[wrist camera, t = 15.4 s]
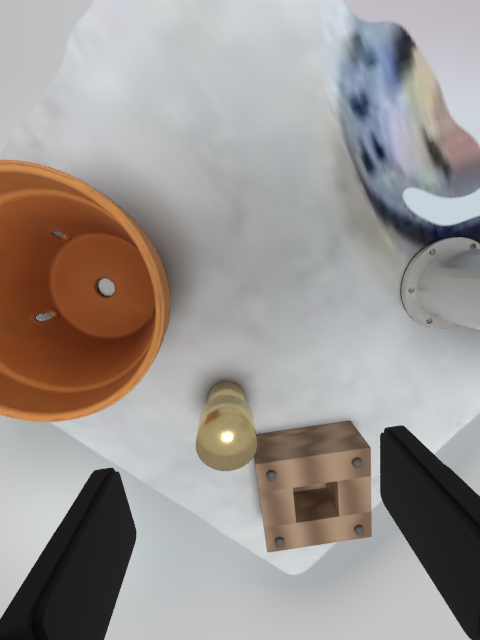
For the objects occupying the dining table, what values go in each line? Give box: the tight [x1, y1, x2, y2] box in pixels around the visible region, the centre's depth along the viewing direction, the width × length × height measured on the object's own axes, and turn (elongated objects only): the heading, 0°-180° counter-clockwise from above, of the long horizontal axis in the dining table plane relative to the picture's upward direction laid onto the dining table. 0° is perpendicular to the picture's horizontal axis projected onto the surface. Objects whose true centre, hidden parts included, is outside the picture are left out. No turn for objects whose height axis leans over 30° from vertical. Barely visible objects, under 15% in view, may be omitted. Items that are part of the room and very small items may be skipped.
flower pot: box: [0, 160, 170, 422], centre depth 28 cm, size 21×21×15 cm
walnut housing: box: [254, 421, 372, 552], centre depth 40 cm, size 16×16×6 cm
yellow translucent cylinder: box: [196, 382, 257, 471], centre depth 35 cm, size 7×7×10 cm
